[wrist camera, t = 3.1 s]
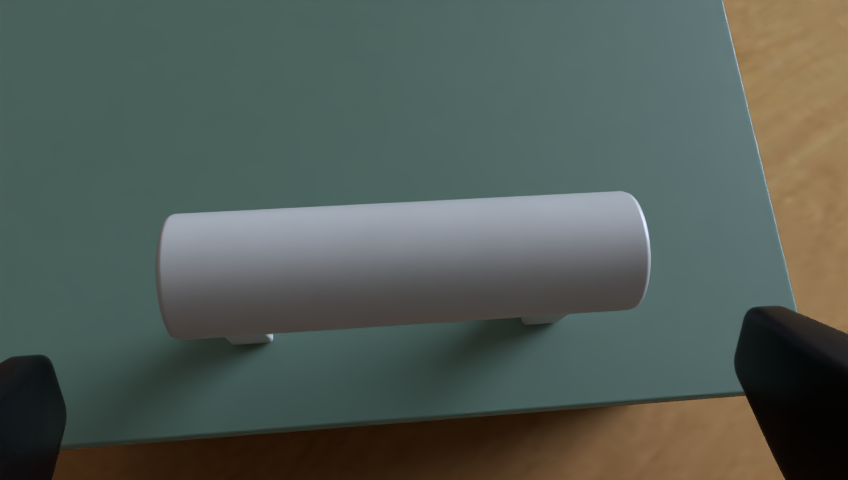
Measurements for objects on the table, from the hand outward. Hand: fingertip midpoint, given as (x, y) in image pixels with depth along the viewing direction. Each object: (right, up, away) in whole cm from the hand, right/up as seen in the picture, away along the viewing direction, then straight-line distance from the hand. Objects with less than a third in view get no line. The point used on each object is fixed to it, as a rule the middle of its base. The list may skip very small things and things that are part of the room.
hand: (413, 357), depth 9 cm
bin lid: (-1, +4, +5) cm, 7 cm away
